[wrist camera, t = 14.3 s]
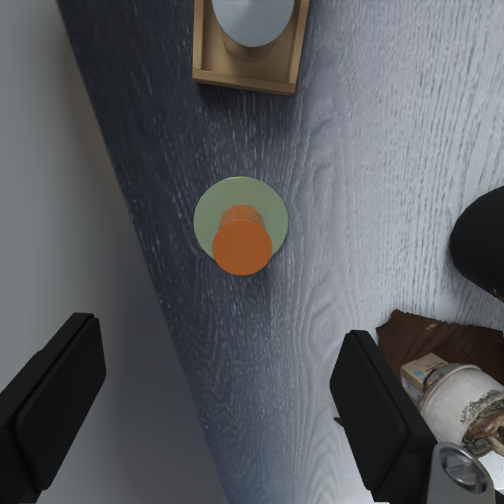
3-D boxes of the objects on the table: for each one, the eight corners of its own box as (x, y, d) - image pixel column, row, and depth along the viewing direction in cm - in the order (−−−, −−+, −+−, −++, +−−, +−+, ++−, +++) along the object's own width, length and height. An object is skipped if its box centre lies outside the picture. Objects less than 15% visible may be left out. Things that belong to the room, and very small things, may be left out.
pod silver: (216, 61, 21) (208, 40, 16) (220, -18, 19) (213, -72, 14) (275, 71, 21) (287, 52, 16) (286, -6, 19) (302, -54, 14)
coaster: (192, 260, 28) (191, 263, 27) (196, 170, 24) (195, 171, 24) (279, 268, 29) (280, 271, 28) (295, 182, 25) (296, 183, 24)
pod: (215, 245, 27) (210, 273, 22) (219, 199, 25) (214, 217, 20) (262, 250, 27) (267, 278, 22) (269, 205, 25) (276, 224, 20)
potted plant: (368, 295, 33) (818, 562, 11) (468, 298, 40) (873, 467, 17) (329, 426, 38) (586, 806, 15) (424, 409, 45) (701, 657, 22)
